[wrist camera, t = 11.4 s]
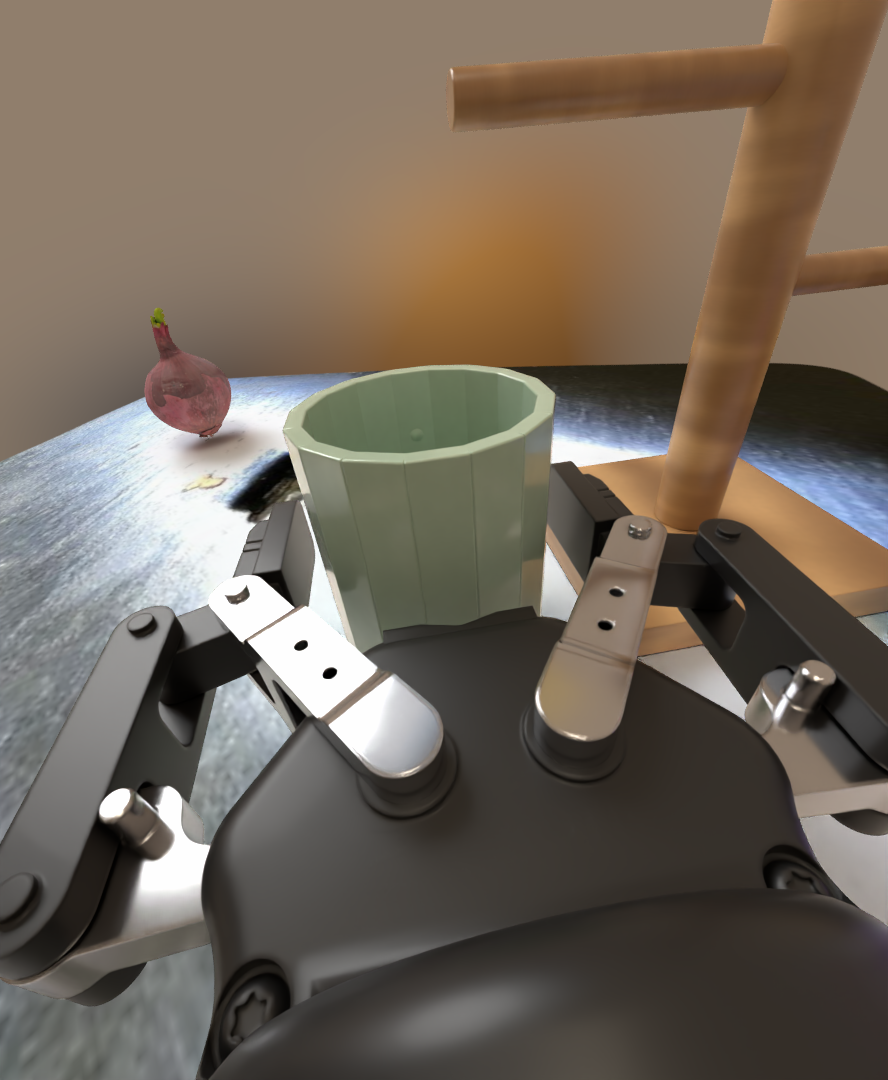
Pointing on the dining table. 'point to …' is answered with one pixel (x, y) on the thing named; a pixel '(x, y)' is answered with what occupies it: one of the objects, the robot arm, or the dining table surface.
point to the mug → (427, 493)
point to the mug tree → (728, 266)
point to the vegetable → (185, 387)
